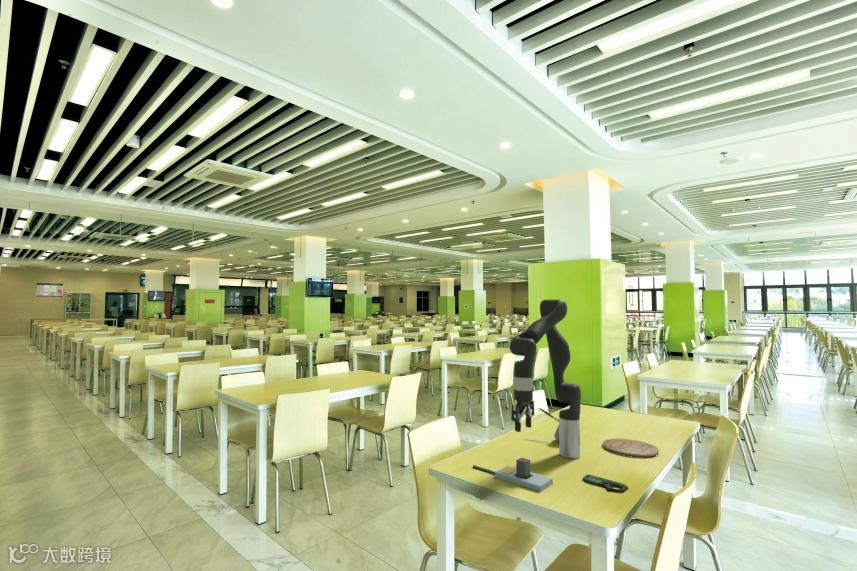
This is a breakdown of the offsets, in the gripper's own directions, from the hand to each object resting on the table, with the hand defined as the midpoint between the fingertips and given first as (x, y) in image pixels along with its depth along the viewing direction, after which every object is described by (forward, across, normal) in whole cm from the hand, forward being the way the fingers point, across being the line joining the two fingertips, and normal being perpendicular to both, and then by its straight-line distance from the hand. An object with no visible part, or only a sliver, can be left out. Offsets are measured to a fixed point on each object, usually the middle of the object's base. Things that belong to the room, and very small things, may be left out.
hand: (523, 429), depth 169 cm
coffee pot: (+20, -61, -14) cm, 66 cm away
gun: (+21, -18, +25) cm, 37 cm away
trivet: (+21, -72, +19) cm, 77 cm away
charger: (+20, 0, 0) cm, 20 cm away
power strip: (+20, 0, -7) cm, 21 cm away
